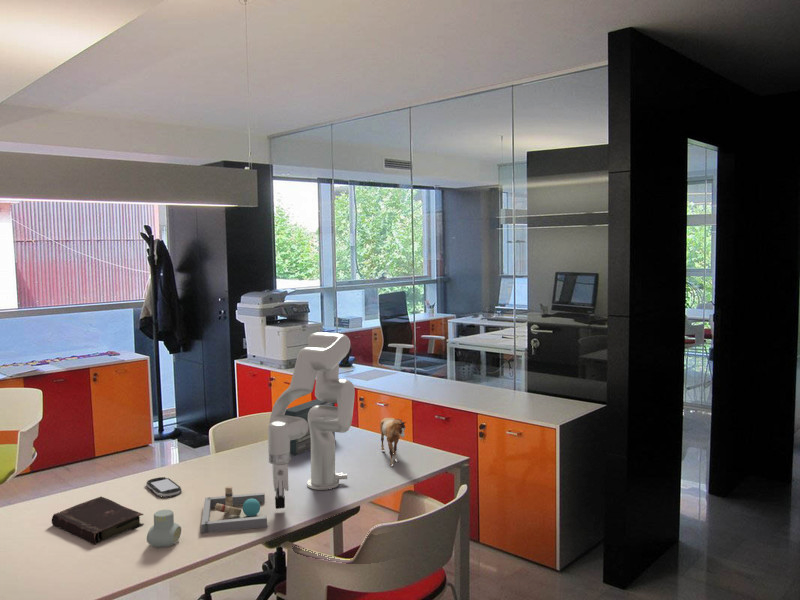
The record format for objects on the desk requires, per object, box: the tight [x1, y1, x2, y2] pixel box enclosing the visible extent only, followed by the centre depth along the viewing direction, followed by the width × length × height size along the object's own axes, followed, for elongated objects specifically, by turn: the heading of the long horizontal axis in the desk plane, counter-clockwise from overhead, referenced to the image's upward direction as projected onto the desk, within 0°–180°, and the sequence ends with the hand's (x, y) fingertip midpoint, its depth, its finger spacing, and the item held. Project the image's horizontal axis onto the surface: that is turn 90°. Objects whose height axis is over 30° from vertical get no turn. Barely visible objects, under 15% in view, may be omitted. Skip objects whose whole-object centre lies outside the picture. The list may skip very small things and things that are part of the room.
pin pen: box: [200, 492, 268, 534], centre depth 224 cm, size 21×23×3 cm
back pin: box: [224, 485, 234, 507], centre depth 228 cm, size 2×2×9 cm
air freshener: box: [146, 509, 182, 548], centre depth 203 cm, size 11×8×10 cm
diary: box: [51, 496, 145, 546], centre depth 217 cm, size 19×25×5 cm
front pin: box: [214, 503, 242, 517], centre depth 223 cm, size 2×2×9 cm
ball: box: [242, 499, 261, 517], centre depth 224 cm, size 6×6×6 cm
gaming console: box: [145, 476, 182, 498], centre depth 249 cm, size 19×9×2 cm, turn 40°
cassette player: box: [285, 398, 336, 456], centre depth 302 cm, size 29×7×20 cm, turn 149°
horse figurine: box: [379, 416, 407, 465], centre depth 285 cm, size 31×8×21 cm, turn 10°
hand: (280, 507), depth 228 cm, fingers closed
